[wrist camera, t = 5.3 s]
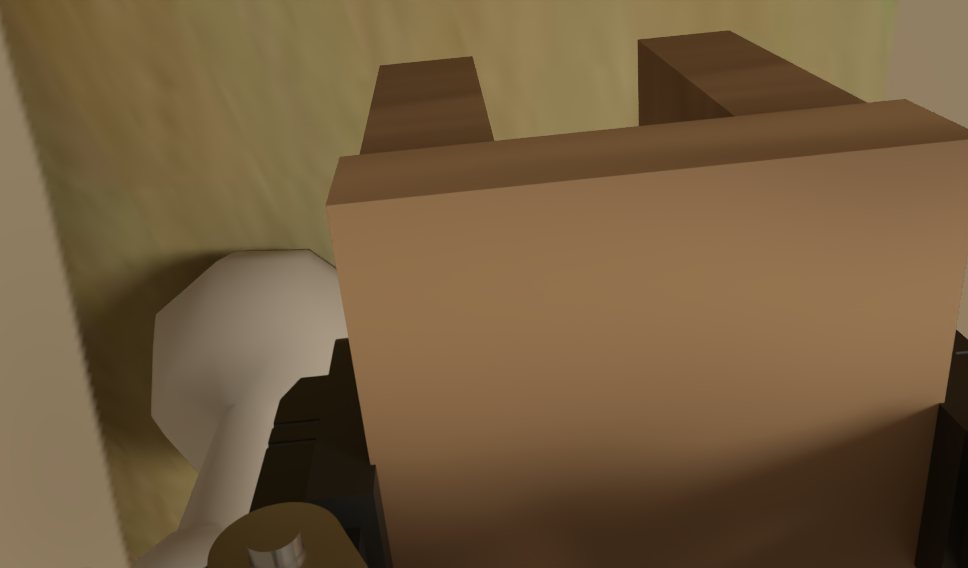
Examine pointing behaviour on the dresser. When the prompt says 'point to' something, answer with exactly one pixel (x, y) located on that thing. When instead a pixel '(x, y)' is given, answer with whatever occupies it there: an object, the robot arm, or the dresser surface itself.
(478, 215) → the small wooden bench
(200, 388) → the potion bottle
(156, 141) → the dresser surface
